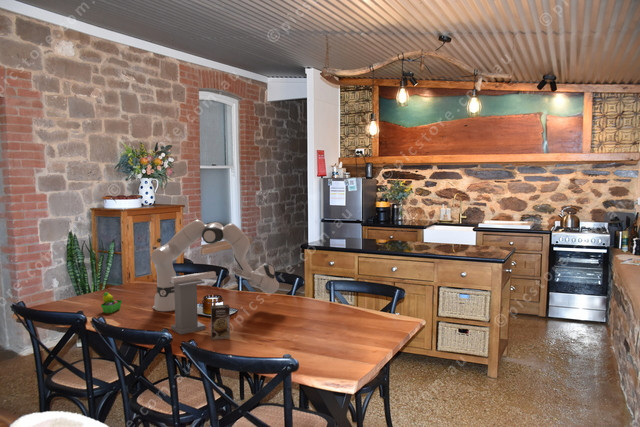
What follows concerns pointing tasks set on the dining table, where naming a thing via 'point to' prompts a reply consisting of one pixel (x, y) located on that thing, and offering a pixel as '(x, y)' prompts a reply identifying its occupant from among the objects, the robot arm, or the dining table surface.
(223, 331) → the coffee box
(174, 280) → the beige wooden bar
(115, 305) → the fruit basket
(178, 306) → the shelf stand
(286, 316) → the dining table surface
